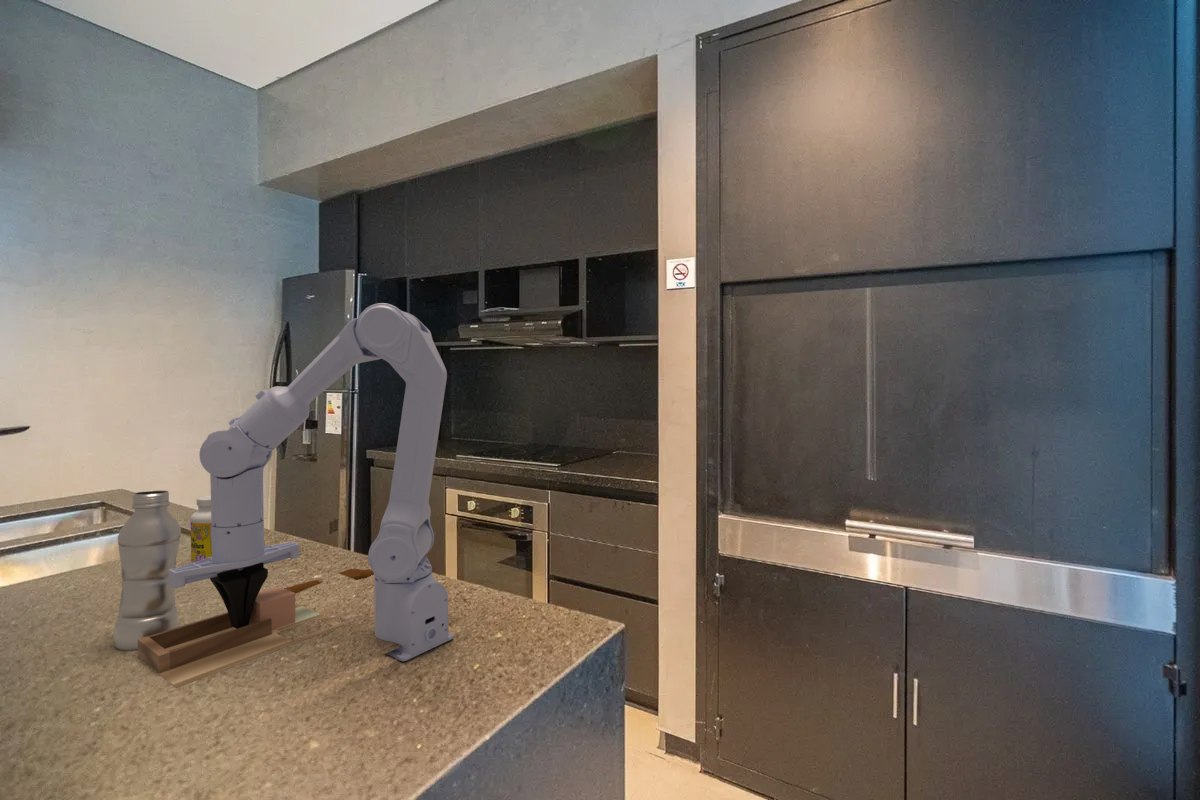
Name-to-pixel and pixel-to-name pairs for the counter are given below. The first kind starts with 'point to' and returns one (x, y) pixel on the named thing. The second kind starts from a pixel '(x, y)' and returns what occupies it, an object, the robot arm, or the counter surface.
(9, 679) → the counter surface
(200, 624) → the board
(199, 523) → the supplement bottle
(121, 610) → the plastic bottle
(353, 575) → the primitive tool
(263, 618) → the block
